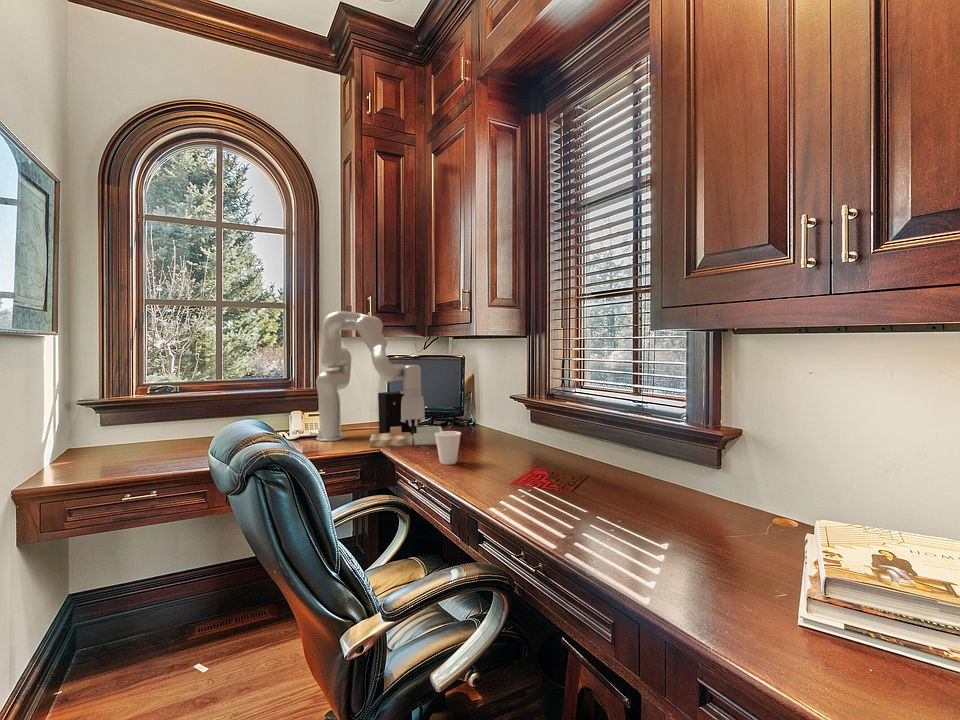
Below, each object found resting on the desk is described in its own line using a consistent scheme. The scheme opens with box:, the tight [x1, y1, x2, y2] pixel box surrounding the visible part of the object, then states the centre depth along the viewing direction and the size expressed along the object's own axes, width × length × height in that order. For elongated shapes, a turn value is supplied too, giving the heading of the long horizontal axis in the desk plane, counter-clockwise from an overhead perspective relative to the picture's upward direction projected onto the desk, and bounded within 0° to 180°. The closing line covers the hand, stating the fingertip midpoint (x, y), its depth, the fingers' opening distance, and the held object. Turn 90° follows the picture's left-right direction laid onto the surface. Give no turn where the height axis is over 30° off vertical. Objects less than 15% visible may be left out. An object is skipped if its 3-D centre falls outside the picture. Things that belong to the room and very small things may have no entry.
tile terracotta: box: [390, 426, 402, 435], centre depth 228 cm, size 5×5×3 cm
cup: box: [434, 430, 462, 466], centre depth 186 cm, size 10×10×11 cm
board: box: [369, 432, 414, 448], centre depth 224 cm, size 18×15×3 cm
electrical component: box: [377, 390, 415, 434], centre depth 248 cm, size 18×10×20 cm, turn 128°
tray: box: [412, 425, 444, 447], centre depth 227 cm, size 13×17×5 cm
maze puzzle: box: [509, 468, 570, 492], centre depth 163 cm, size 20×20×1 cm
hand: (413, 434), depth 222 cm, fingers closed
